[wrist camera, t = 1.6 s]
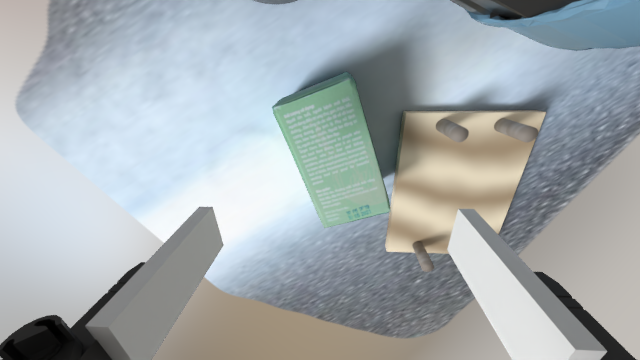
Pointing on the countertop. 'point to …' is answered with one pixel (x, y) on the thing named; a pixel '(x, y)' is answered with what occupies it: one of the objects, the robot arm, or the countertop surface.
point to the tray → (455, 173)
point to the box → (333, 150)
